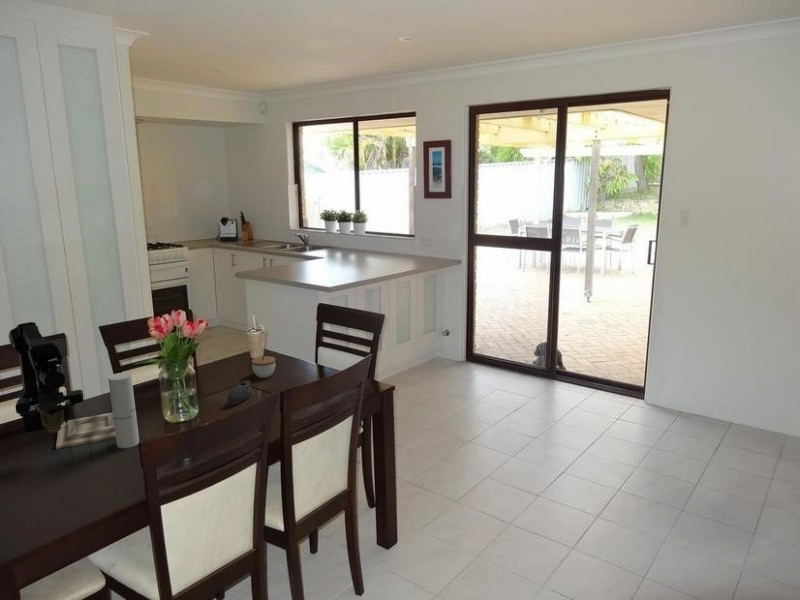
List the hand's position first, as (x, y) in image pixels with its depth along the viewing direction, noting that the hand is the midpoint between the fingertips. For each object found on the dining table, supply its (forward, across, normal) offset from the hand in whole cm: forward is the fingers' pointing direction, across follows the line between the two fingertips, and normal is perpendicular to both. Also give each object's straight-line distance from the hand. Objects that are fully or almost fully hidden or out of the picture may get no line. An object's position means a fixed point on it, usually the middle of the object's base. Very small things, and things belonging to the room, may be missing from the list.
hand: (54, 425), depth 187 cm
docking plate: (+11, +10, +17) cm, 23 cm away
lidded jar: (+12, +81, +43) cm, 92 cm away
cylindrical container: (+12, +21, -1) cm, 24 cm away
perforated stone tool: (+12, +64, +18) cm, 68 cm away
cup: (+2, 0, 0) cm, 2 cm away
